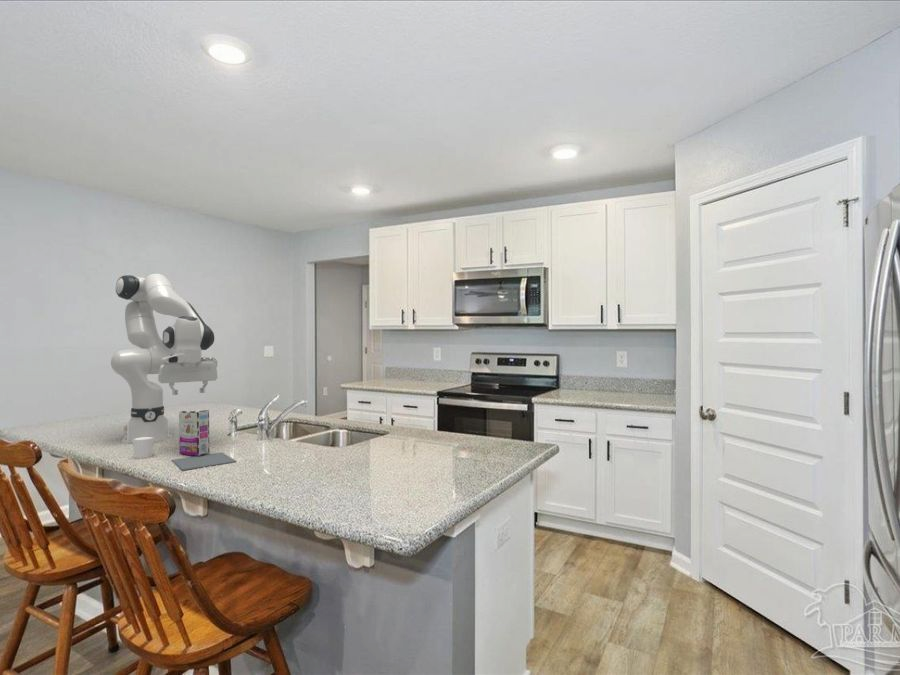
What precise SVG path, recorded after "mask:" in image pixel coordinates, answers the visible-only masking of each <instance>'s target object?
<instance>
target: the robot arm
mask: <svg viewBox="0 0 900 675" xmlns="http://www.w3.org/2000/svg"><path fill="white" fill-rule="evenodd" d="M115 293H116V295H117V296H118V298H121V299H124V300H127V301H130V302H128V304H126V306H125V309H124V310H125V311H124V320H125V321H124V322H125V329H126V334H127V340H128V342H130V343H131V345H134V346H135V347H137V348H127V349H121V350H117V351H116V352H114V354H113V355H112V357H111V360H110V366H111V369H112V370H113V371H114V372H115V373H116V374H117V375H119V376H121V377H122V378H123V379H124V380H125V381H126V383H127V384H128V386H129V388H130V392H131V400H132V401H131V403H132V404H131V406H132V407H131V410H130V417H131V418H130V419H129V421H128V422H127V423H126V425H124V426H123V427H124V428H123V429H124V430H123V431H124V432H125V435H124V436H123V437H122V439H121V441H120V444H133V439H135V438H139V437H154V443H158V442H163V441H165V439H166V440H168V439H171V437H172V438H173V437H174V435H173V434H170V432H169V429H170V428H169V419H168V418H167V417H166V416H165V415H164V414H165V406H164V403H163V401H164V396H163V395H164V393H163V391H164V390H163V388H162V386H161V385H160V384H168V386H169V388H170V389H171V391H172V393H171V394H172V395H173V396H176V395H178V394H179V393H178V392H179V391H178V389H175V387H174V386H175V383H177V384H178V383H193V382H196V383H197V382H202V384H203V385H202V387H200V388H199V393H200V394H203V393H204V394H205V393H206V390H205V388H207V386H208V384H209V382H210V381H216V380H217V379H218V370H217V367H218V360H217V359H216V358H214V357H211V356H210V357H202V351H207V350H208V349H209V348H211V347H212V345H213V344H214V342H215V333H214V331H213V329H212V328H211V327H210V326H209V325H207V324H206V322H204V320H203V319H202V318H201V316H200V315H199V313H198V312H197V311H196V309H195V308H194V306H193V305H192V304H191V303H190V302H188V301H187V300H185V299H184V298H182V297H181V296H180V295H179V294H178V293H177V292H176V290H175V288H174V287H173V285H172V283H171V282H170V280H169V279H168V278H167V277H166V276H165V275H163V274H162V273H150V274H148V275H147V276H146V277H141V276H134V275H130V274H129V275H127V274H125V275H121V276H120V277H119V278H118V279H117V281H116V283H115ZM154 312H156V313H158V314H159V315H160V314H162V315H165V316H172V317H175V318H176V321H175V323H173V324H172V325H169V326H168V327H166V328H165V329H164V330H163V331H162V338H161V337H160V335H159V333H158V329H157V325H156V320H155V316H154ZM148 375H158V377H157V381H158V382H159V383H160V384H158V383H155V382H153V381H149V379H148ZM167 438H168V439H167Z"/></svg>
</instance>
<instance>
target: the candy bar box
mask: <svg viewBox="0 0 900 675" xmlns="http://www.w3.org/2000/svg"><path fill="white" fill-rule="evenodd" d="M178 412H179V415H178V416H179V418H178V419H179V420H178V422H179V425H178V426H179V455H180V454H181V455H183V456H189V457H194V456H202V455H208V454H210V410H209V409H187V410H180V411H178Z"/></svg>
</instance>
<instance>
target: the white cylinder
mask: <svg viewBox="0 0 900 675" xmlns="http://www.w3.org/2000/svg"><path fill="white" fill-rule="evenodd" d="M154 444H155V442H154V437H139V438H135V439H133V443H132V447H133V457H134V458H133V459H146V458H151V457H153V454H154V447H155V446H154Z"/></svg>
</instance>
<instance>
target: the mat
mask: <svg viewBox="0 0 900 675" xmlns="http://www.w3.org/2000/svg"><path fill="white" fill-rule="evenodd" d="M171 462H172V463H173V464H174V465H176V467H177V468H178V469H180V471H182V472H184V471H185V472H186V471H192V470H196V469H197V468H199V469H204V468H203V467H205V468H209V466H211V467H216V465H217V466H222V465H228V464H235V463H237V460H235V459H234V458H232V457H230V456H229V455H227V454H226V453H224V452H216V453H209V454H207V455H202V456H188V457H181V458H175V459H171ZM197 470H198V469H197Z"/></svg>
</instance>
